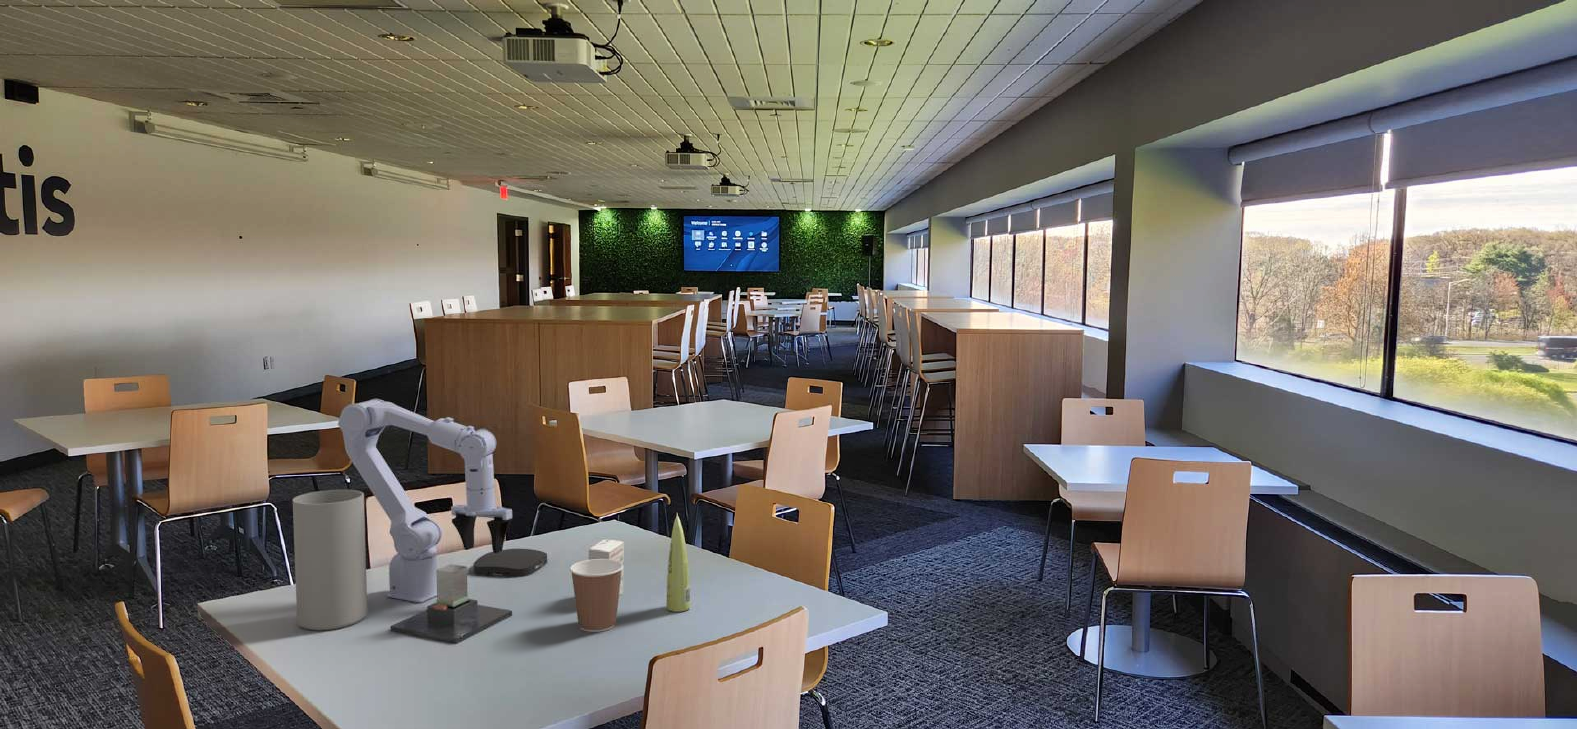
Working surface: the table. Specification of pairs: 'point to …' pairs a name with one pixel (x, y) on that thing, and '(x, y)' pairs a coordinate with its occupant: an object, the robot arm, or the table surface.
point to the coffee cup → (596, 593)
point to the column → (452, 585)
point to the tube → (678, 571)
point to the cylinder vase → (330, 559)
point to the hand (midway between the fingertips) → (483, 550)
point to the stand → (451, 621)
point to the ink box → (609, 553)
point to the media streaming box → (510, 563)
